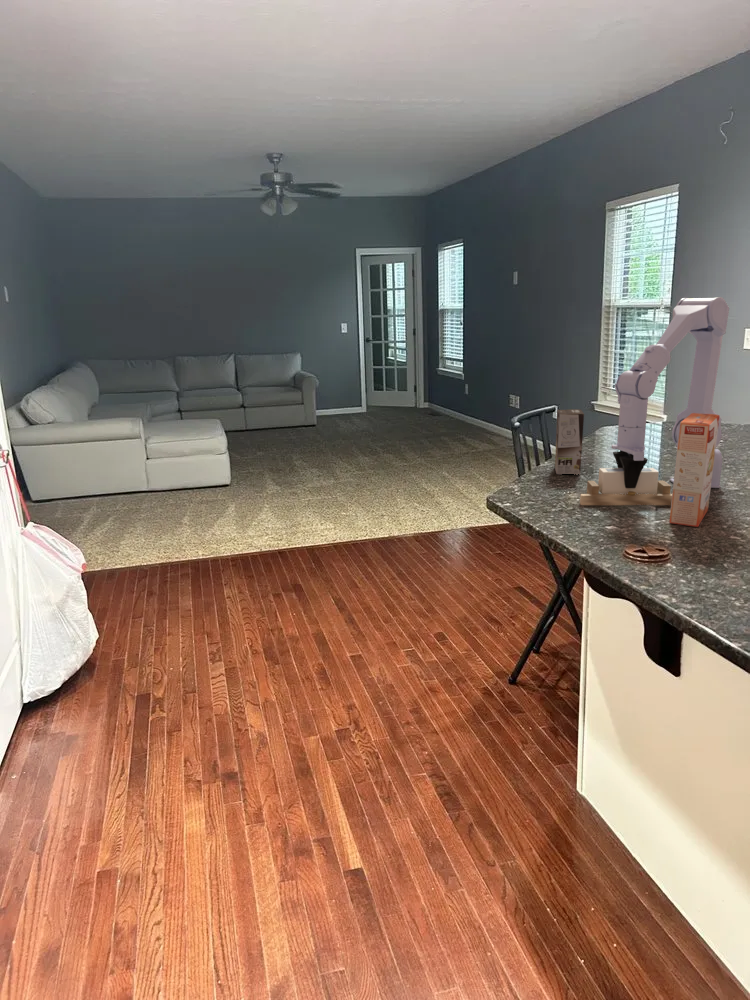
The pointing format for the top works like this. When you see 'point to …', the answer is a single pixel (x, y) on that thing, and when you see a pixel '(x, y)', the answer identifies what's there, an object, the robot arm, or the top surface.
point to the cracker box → (694, 468)
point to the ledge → (626, 496)
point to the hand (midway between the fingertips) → (627, 485)
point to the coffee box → (569, 441)
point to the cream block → (614, 483)
